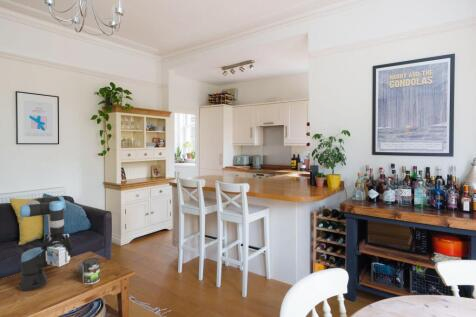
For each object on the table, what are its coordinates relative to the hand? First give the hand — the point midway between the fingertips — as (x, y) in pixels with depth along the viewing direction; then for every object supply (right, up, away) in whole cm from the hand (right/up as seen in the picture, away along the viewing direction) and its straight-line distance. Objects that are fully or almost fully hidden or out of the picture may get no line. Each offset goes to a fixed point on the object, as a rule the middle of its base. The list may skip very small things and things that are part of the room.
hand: (58, 260), depth 176 cm
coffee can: (+13, -19, +15) cm, 28 cm away
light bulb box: (0, -2, 0) cm, 2 cm away
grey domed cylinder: (+2, -19, +24) cm, 30 cm away
